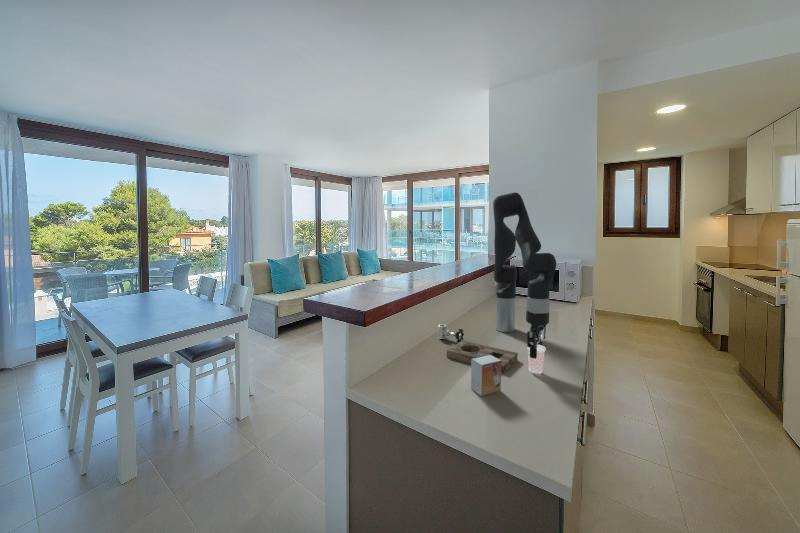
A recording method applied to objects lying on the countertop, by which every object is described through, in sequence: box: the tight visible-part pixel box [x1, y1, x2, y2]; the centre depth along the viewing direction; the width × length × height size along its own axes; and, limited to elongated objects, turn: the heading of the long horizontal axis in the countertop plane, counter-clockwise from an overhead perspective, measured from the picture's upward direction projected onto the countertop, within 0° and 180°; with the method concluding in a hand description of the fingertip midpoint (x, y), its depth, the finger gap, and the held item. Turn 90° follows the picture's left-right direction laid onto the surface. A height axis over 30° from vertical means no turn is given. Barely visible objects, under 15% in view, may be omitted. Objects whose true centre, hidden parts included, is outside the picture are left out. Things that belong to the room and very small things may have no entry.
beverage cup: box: [526, 338, 547, 375], centre depth 114 cm, size 6×6×14 cm
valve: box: [437, 323, 465, 344], centre depth 150 cm, size 7×7×12 cm
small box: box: [470, 355, 502, 397], centre depth 104 cm, size 8×6×10 cm
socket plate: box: [446, 339, 519, 374], centre depth 128 cm, size 14×24×3 cm, turn 50°
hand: (536, 354), depth 115 cm, fingers closed on beverage cup, 6 cm apart
